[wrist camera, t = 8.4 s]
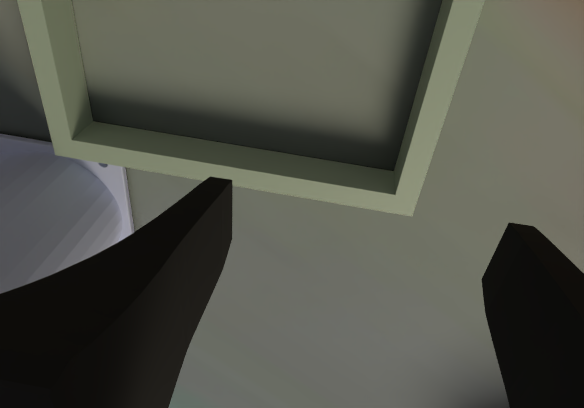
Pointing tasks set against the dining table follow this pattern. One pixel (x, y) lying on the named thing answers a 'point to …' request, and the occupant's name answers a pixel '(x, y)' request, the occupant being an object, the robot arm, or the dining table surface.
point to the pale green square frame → (239, 159)
